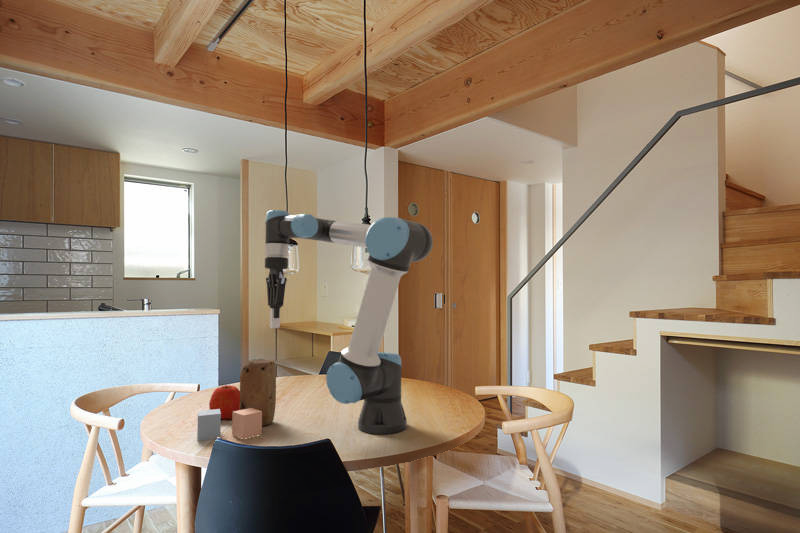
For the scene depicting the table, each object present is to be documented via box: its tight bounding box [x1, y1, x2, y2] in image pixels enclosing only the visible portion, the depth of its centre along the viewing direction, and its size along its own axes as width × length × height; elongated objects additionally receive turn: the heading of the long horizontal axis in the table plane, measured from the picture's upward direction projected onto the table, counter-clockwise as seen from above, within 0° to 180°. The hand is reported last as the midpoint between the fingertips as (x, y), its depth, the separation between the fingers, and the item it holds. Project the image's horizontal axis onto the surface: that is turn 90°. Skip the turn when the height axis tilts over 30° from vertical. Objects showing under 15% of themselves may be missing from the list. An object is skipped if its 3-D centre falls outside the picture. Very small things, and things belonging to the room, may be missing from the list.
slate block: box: [196, 409, 222, 442], centre depth 136 cm, size 6×6×7 cm
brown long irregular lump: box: [239, 358, 277, 427], centre depth 149 cm, size 11×8×20 cm
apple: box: [208, 385, 240, 420], centre depth 157 cm, size 11×11×11 cm
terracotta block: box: [231, 408, 263, 439], centre depth 137 cm, size 6×6×7 cm
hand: (274, 327), depth 155 cm, fingers closed
